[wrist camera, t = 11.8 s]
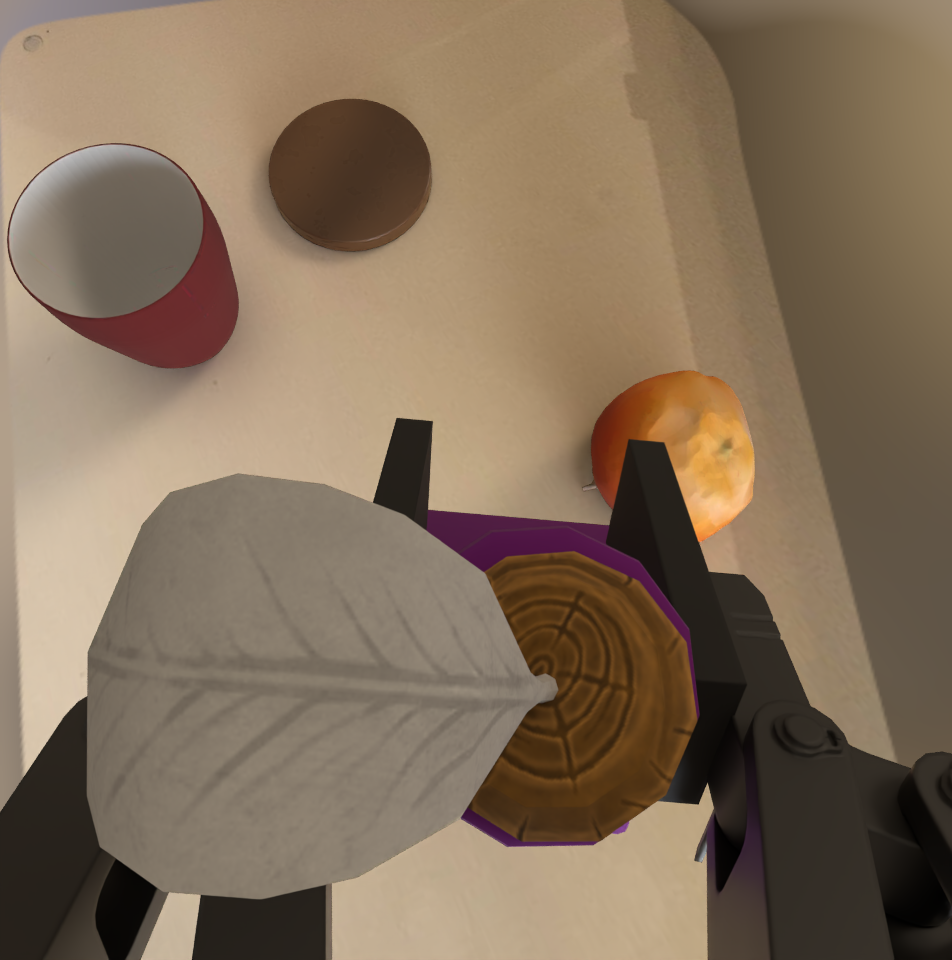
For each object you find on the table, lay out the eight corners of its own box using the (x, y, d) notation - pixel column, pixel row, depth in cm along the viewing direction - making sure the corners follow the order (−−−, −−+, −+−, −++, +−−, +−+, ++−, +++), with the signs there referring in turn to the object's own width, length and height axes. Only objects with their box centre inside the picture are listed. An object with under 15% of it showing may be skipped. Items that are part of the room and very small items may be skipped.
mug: (100, 239, 41) (-13, 113, 31) (244, 208, 41) (178, 75, 32) (129, 416, 39) (18, 341, 29) (281, 381, 39) (222, 295, 30)
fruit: (565, 365, 38) (682, 330, 32) (671, 419, 42) (796, 398, 35) (530, 514, 37) (646, 511, 30) (644, 556, 40) (769, 562, 34)
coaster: (256, 237, 41) (251, 227, 40) (292, 99, 43) (288, 86, 42) (415, 263, 41) (414, 254, 40) (444, 123, 43) (444, 112, 42)
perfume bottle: (633, 545, 22) (898, 182, 5) (617, 808, 21) (921, 1603, 3) (393, 524, 23) (-82, 155, 6) (360, 773, 22) (-417, 1259, 4)
